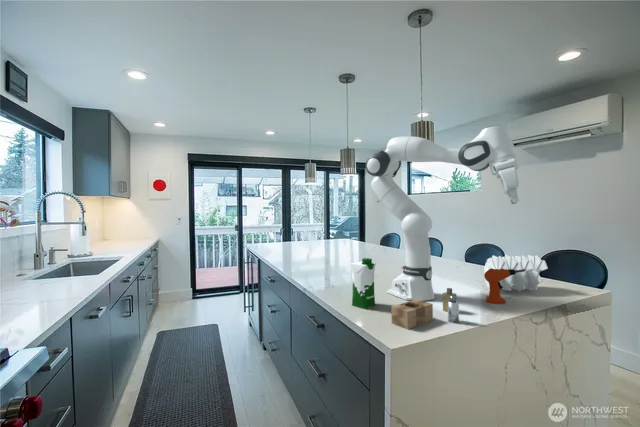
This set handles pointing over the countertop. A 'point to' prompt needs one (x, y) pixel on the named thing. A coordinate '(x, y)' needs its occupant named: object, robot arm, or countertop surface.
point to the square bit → (447, 298)
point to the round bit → (453, 310)
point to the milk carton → (363, 283)
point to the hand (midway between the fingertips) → (515, 202)
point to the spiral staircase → (521, 278)
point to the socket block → (412, 313)
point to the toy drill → (497, 283)
